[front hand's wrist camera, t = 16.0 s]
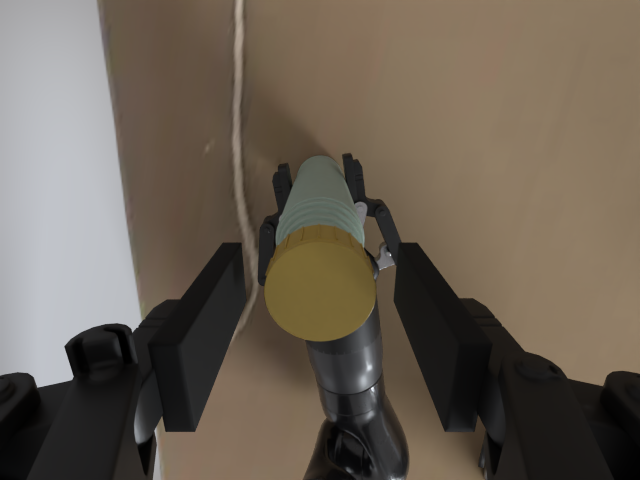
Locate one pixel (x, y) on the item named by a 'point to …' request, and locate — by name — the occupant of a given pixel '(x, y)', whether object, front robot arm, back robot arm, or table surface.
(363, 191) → the back robot arm
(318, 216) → the bottle
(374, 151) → the table surface
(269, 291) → the cap
